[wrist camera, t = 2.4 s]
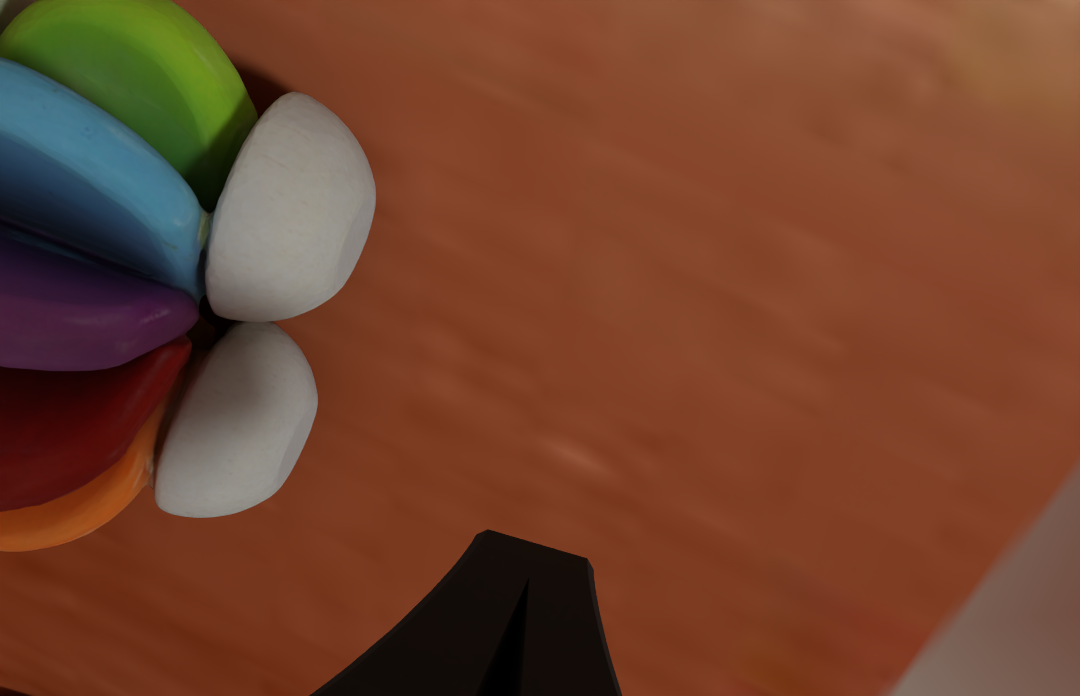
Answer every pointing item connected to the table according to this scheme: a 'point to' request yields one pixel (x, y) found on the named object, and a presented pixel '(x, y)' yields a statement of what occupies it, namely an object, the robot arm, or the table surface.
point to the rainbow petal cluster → (155, 267)
